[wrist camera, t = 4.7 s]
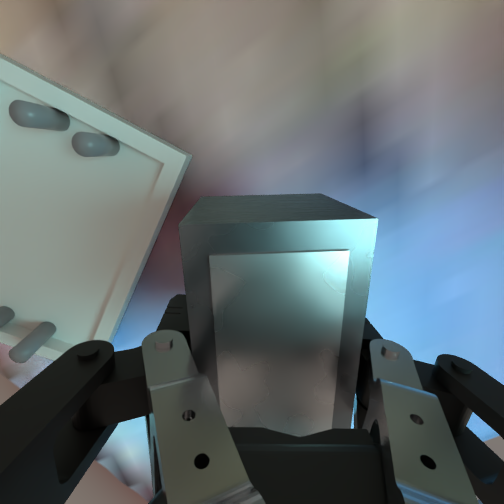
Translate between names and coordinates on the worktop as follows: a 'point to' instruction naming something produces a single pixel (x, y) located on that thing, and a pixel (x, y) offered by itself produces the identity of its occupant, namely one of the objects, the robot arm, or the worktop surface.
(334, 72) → the worktop surface
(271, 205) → the block
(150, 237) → the tray
